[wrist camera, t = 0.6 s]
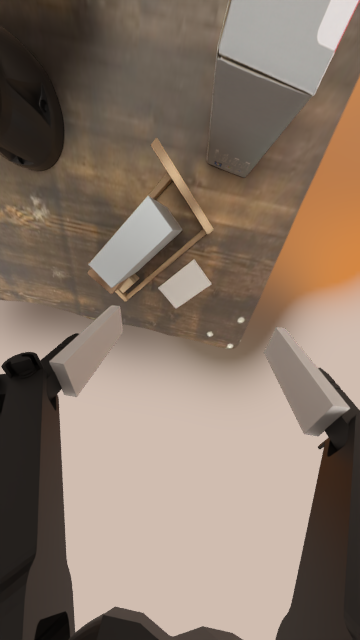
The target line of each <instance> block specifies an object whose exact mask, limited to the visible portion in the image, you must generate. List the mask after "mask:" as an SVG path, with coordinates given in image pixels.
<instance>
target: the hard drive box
mask: <svg viewBox="0 0 360 640" xmlns="http://www.w3.org/2000/svg"><path fill="white" fill-rule="evenodd" d="M359 1H360V0H229V1H228V5H227V9H226V13H225V17H224V21H223V25H222V30H221V34H220V38H219V43H218V47H217V55H216V65H215V75H214V86H213V97H212V107H211V118H210V128H209V138H208V149H207V162H208V164H211V165H213V166H215V167H218V168H220V169H223V170H225V171H228V172H230V173H233V174H236V175H238V176H241V177H244V178H245V177H246V176H247V175H248V174H249V173H250V171H251V170H252V169H253V168H254V167H255V165H256V164H257V163H258V162H259V160H260V159H261V158H262V157H263V155H264V154H265V153H266V152H267V151H268V149H269V148H270V147H271V146H272V144H273V143H274V142H275V141H276V140H277V138H278V137H279V136H280V135H281V133H282V132H283V131H284V130H285V128H286V127H287V126H288V125H289V124H290V122H291V121H292V120H293V119H294V117H295V116H296V115H297V114H298V113H299V112H300V110H301V109H302V108H303V107H304V106H305V104H306V103H307V102H308V101H309V99H310V98H311V97H312V96H314V95H315V93H316V91H317V88H318V86H319V84H320V82H321V80H322V78H323V76H324V74H325V72H326V69H327V67H328V65H329V63H330V61H331V59H332V57H333V55H334V53H335V51H336V49H337V47H338V45H339V43H340V41H341V39H342V37H343V35H344V32H345V30H346V28H347V26H348V24H349V22H350V20H351V18H352V16H353V14H354V12H355V10H356V8H357V6H358V3H359Z"/></svg>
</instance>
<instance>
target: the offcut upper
mask: <svg viewBox="0 0 360 640" xmlns="http://www.w3.org/2000/svg"><path fill="white" fill-rule="evenodd" d="M87 274H89V275H90V276H91V277H92V278H93V279H94V280H96V281H97V282H98V283H99V284H100V285H101V286H103V287H104V288H105V289H106V290H107V291H108V292H109V293H111V294H112V293H114V292H115V291H117V290H118V289H120V288H121V286H122V285H123V284H124V283H125V281H126V280H127V279H128V278H127V279H125V280H124V281H122V282H120V283H119V284H117V285H116V286H114V287H113V288H111V287H110V286H109V285H108V284H107V283H106V282H105V281H104V280H103V279H102V278H101V277H100V276H99V275H98V274H97V273H96V271H95V270H94V269H93V268H92V267H91V268H90V270H89V271H88V273H87Z"/></svg>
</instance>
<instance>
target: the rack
mask: <svg viewBox="0 0 360 640" xmlns="http://www.w3.org/2000/svg"><path fill="white" fill-rule="evenodd" d="M151 146H152V148H153V150H154V151H155V153H156V155H157V156H158V158H159V159H160V161H161V163H162V164H163V166H164V167H165V169H166V171H167V172H168V173H167V174H166V175H165V176H164V177H163V178H162V179H161V181H160V182H159V183H158V184H157V185H156V186H155V188H154V189H153V190H152V191H151V192H150V193H149V195H148V196H149V197H151V198H153V199H154V200H155V199H156V198H157V197H158V196H159V195H160V194H161V193H162V192H163V191H164V189H165V188H166V187H167V186H168V185H169V184H170V183H171V182H172V181H173V182H174V183H175V185H176V186H177V188H178V189H179V191H180V192H181V194H182V196H183V197H184V199H185V200H186V202H187V203H188V205H189V207H190V208H191V210H192V211H193V213H194V214H195V216H196V217H197V219H198V221H199V222H200V224H201V225H202V227H203V228H204V229H203V230H202V231H200V232H199V233H198V234H197V235H196V236H195V237H193V238H192V239H191V240H190V241H189V242H188V243H187V244H185V245H184V246H183V247H182V248H181V249H180V250H178V251H177V252H176V253H175V254H174V255H173V256H172V257H170V258H169V259H168V260H167V261H166V262H165V263H163V264H162V265H161V266H160V267H159V268H158V269H157V270H155V271H154V272H153V273H152V274H151V275H150V276H149V277H147V278H146V279H145V280H144V281H143V282H142V283H140V284H139V285H138V286H137V287H136V288H135V289H134V290H132V291H131V292H130V293H129V294H127V293H126V292H124V293H122V292H121V291H120V289H118V290H117V291H115V292H116V293H117V294H118V295H119V296H120V297H121V298H122V299H123V300H124V301H125V302H126V301H127V300H128V299H129V298H131V297H132V296H133V295H134V294H135V293H136V292H138V291H139V290H140V289H141V288H142V287H144V286H145V285H146V284H147V283H148V282H149V281H151V280H152V279H153V278H154V277H155V276H157V275H158V274H159V273H160V272H161V271H162V270H164V269H165V268H166V267H167V266H168V265H170V264H171V263H172V262H173V261H174V260H175V259H177V258H178V257H179V256H180V255H181V254H183V253H184V252H185V251H186V250H187V249H188V248H190V247H191V246H192V245H193V244H194V243H196V242H197V241H198V240H199V239H200V238H201V237H203V236H204V235H205V234H206V233H207V234H209V233H210V232H212V231H213V230H214V229H213V227H212V226H211V224H210V222H209V221H208V219H207V218H206V216H205V214H204V213H203V211H202V210H201V208H200V206H199V205H198V203H197V201H196V200H195V198H194V197H193V195H192V193H191V192H190V190H189V189H188V187H187V185H186V184H185V182H184V180H183V179H182V177H181V176H180V174H179V172H178V171H177V169H176V168H175V166H174V164H173V163H172V161H171V159H170V158H169V156H168V155H167V153H166V151H165V150H164V148H163V147H162V145H161V143H160V142H159V140H158V138H157V137H156V139H155V140H154V141H153V143H152V144H151ZM145 199H146V198H145ZM145 199H144V200H145ZM144 200H143V201H144ZM143 201H142V202H143ZM138 207H139V206H138ZM138 207H137V208H138ZM137 208H136V209H137ZM132 214H133V213H132ZM132 214H131V215H132ZM131 215H130V216H131ZM130 216H129V217H130ZM125 222H126V221H125ZM125 222H124V223H125ZM124 223H123V224H124ZM119 229H120V228H119ZM119 229H118V230H119ZM118 230H117V231H118ZM112 237H113V236H112ZM112 237H111V238H112ZM111 238H110V239H111ZM106 244H107V243H106ZM106 244H105V245H106ZM105 245H104V246H105ZM99 252H100V251H99ZM99 252H98V253H99ZM98 253H97V254H98ZM93 259H94V258H93ZM93 259H92V260H93ZM92 260H91V261H92ZM91 261H90V262H91ZM90 262H89V263H90ZM89 263H88V264H89Z"/></svg>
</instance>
